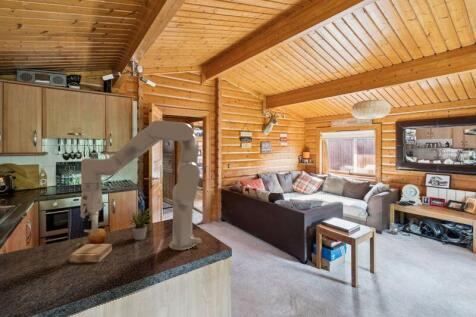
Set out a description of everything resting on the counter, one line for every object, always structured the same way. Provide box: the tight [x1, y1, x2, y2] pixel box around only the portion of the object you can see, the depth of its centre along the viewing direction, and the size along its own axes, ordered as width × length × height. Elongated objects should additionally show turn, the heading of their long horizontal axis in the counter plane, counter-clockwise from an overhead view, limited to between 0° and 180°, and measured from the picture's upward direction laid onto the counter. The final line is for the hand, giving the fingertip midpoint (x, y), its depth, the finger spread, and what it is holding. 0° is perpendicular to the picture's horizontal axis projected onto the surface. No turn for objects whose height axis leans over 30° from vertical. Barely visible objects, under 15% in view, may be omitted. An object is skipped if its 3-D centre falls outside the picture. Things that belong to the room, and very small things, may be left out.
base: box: [69, 243, 113, 263], centre depth 110 cm, size 12×12×3 cm
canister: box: [83, 212, 99, 233], centre depth 109 cm, size 6×6×8 cm
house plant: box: [128, 208, 155, 241], centre depth 132 cm, size 14×14×16 cm
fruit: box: [87, 228, 107, 244], centre depth 125 cm, size 8×8×8 cm
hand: (91, 226), depth 109 cm, fingers closed on canister, 5 cm apart
